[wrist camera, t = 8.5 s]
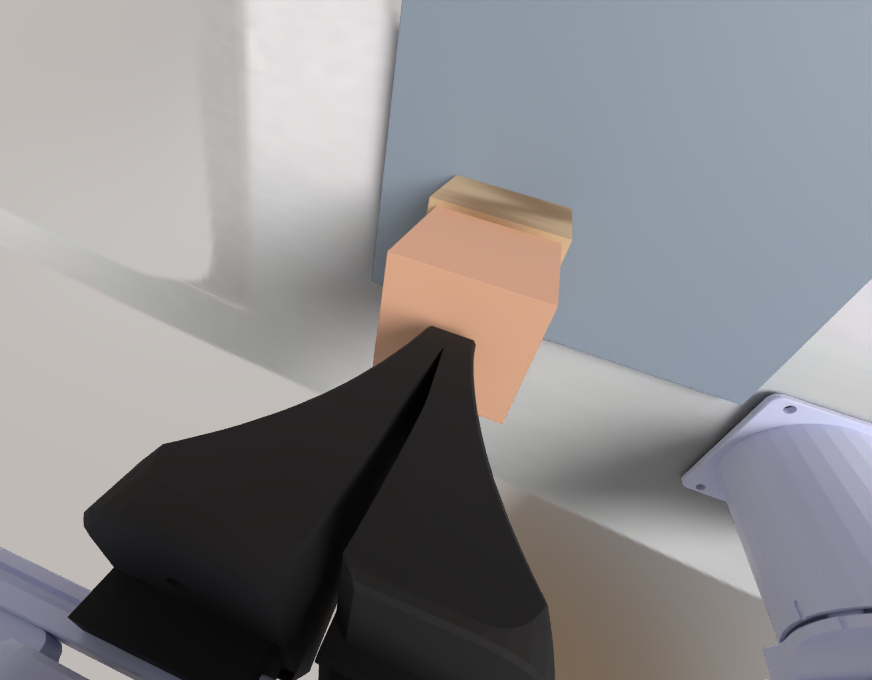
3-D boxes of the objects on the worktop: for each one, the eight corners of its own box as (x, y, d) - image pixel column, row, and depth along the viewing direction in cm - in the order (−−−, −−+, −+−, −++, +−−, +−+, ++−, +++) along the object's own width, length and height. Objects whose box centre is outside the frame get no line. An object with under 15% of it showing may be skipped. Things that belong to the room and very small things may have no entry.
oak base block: (572, 208, 16) (572, 239, 13) (529, 309, 19) (521, 354, 16) (456, 174, 17) (429, 196, 13) (434, 277, 20) (407, 315, 17)
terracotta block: (561, 243, 13) (557, 306, 9) (518, 345, 16) (502, 424, 12) (436, 205, 14) (387, 251, 10) (415, 310, 16) (371, 376, 13)
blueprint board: (1156, -32, 10) (1197, -40, 9) (736, 394, 19) (741, 405, 19) (429, -167, 12) (421, -181, 11) (377, 275, 22) (371, 280, 21)
